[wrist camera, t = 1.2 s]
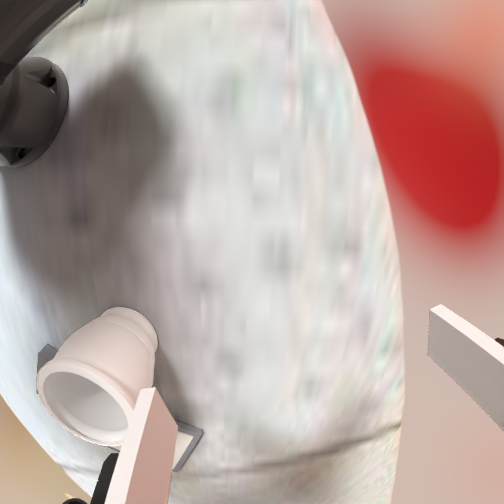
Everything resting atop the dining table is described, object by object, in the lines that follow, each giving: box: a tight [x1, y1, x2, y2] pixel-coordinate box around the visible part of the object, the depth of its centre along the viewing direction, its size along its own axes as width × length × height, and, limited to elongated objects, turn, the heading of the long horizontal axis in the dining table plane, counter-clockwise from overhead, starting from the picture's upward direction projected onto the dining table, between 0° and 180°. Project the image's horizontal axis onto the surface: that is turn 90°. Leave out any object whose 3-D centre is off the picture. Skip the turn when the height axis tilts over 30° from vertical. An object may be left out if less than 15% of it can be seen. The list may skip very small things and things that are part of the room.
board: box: [107, 420, 202, 472], centre depth 38 cm, size 16×13×2 cm
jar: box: [36, 307, 158, 446], centre depth 28 cm, size 11×10×15 cm
